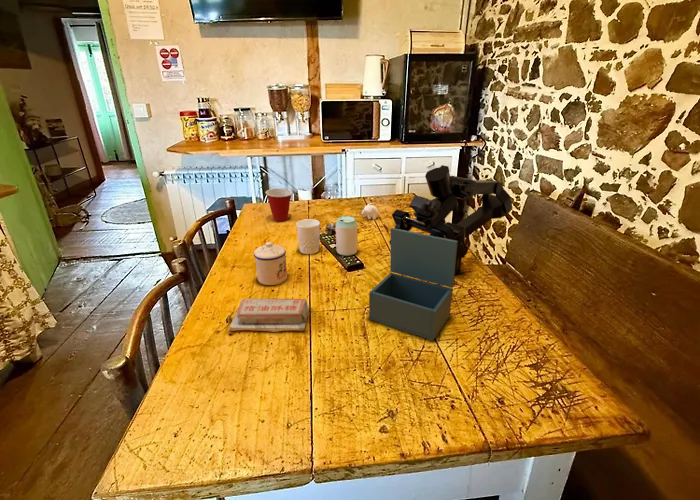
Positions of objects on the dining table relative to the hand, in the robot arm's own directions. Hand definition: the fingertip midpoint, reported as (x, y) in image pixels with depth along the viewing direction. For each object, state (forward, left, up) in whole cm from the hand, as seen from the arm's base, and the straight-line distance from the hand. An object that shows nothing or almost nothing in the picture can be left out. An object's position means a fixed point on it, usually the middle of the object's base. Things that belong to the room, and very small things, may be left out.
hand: (403, 249), depth 102 cm
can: (+8, -31, -14) cm, 35 cm away
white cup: (+20, -36, -14) cm, 44 cm away
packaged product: (+35, +3, -14) cm, 38 cm away
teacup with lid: (+33, -20, -14) cm, 41 cm away
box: (+2, +10, -14) cm, 17 cm away
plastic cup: (+27, -70, -14) cm, 76 cm away
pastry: (+6, -50, -14) cm, 52 cm away
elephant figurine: (-9, -61, -14) cm, 63 cm away
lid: (-2, +7, 0) cm, 7 cm away
